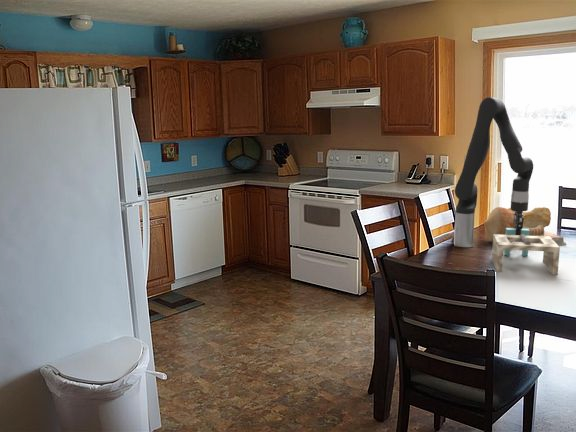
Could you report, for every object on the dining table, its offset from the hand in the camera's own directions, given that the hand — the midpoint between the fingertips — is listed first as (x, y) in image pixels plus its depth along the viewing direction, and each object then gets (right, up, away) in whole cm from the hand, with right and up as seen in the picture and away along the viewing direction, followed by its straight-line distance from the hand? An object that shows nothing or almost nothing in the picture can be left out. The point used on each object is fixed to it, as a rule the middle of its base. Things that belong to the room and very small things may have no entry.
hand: (517, 235), depth 263 cm
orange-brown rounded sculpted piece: (+8, -5, +25) cm, 26 cm away
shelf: (-5, -13, -17) cm, 22 cm away
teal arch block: (0, -9, +2) cm, 9 cm away
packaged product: (+27, -4, +28) cm, 39 cm away
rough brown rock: (+27, 0, +51) cm, 58 cm away
